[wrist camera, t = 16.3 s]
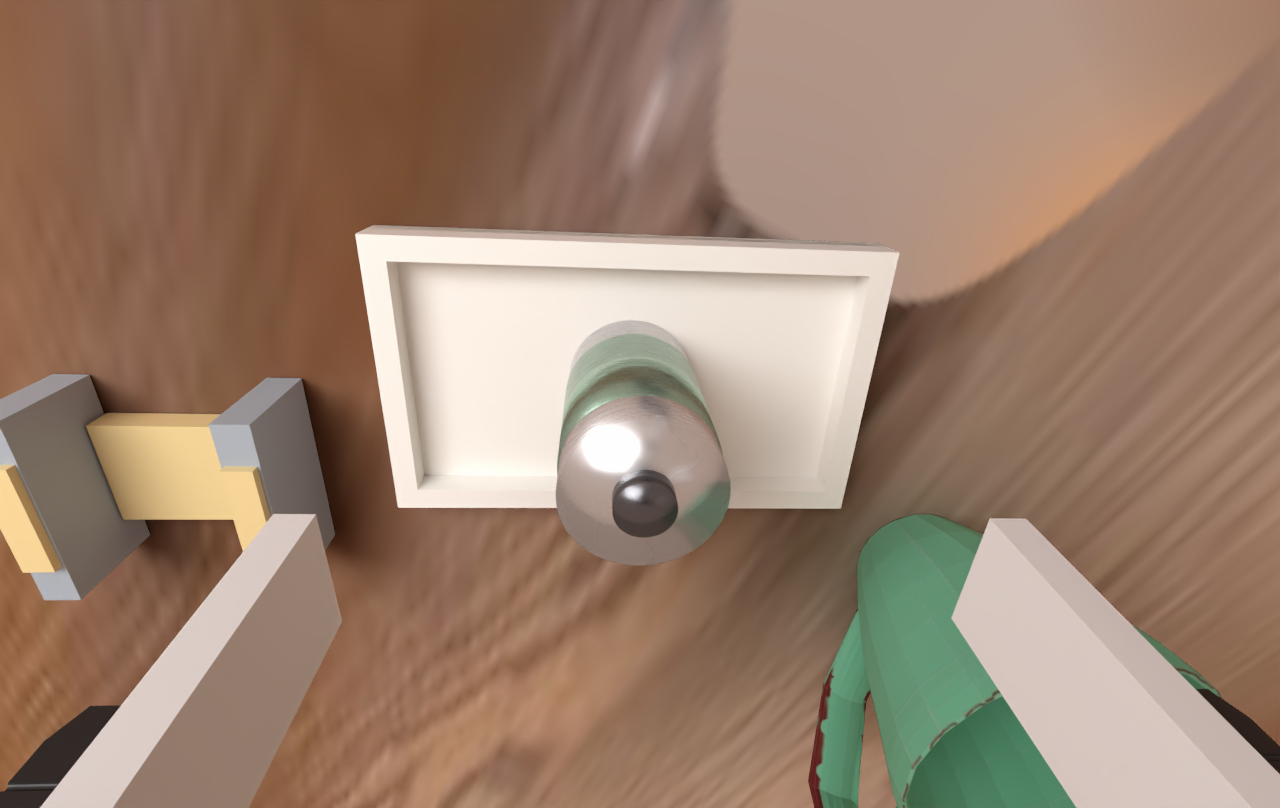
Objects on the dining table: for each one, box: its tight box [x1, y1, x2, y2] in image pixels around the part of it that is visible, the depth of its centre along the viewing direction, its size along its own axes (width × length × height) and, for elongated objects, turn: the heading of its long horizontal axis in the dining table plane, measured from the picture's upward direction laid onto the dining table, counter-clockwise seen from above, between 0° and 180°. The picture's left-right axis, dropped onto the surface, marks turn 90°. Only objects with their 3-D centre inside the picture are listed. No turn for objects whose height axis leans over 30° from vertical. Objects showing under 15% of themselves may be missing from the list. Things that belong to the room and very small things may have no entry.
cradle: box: [0, 374, 335, 600], centre depth 21 cm, size 7×8×4 cm
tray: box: [355, 225, 899, 509], centre depth 22 cm, size 10×17×2 cm, turn 87°
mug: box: [808, 514, 1222, 808], centre depth 24 cm, size 15×10×10 cm
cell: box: [556, 320, 731, 566], centre depth 18 cm, size 4×4×8 cm
